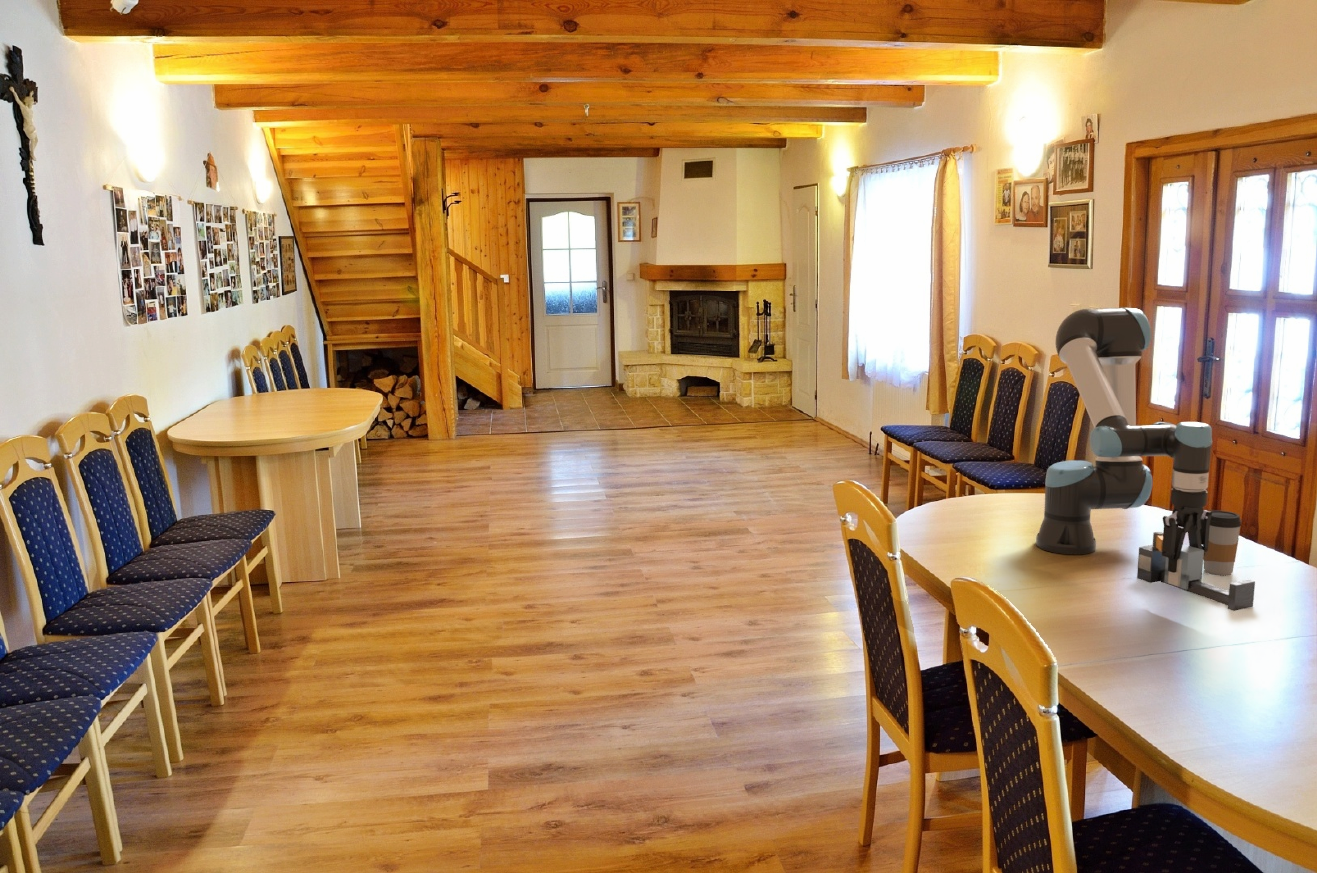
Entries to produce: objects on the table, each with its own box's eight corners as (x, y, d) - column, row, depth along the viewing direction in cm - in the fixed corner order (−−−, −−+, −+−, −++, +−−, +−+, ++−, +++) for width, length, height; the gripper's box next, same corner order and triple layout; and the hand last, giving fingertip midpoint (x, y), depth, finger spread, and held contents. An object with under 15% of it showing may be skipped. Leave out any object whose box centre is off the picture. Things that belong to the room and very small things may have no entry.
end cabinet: (1136, 578, 243) (1138, 547, 241) (1160, 573, 246) (1163, 542, 244) (1150, 583, 239) (1152, 551, 238) (1174, 578, 242) (1176, 547, 241)
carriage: (1164, 582, 237) (1166, 546, 236) (1179, 579, 239) (1182, 543, 237) (1185, 589, 232) (1188, 553, 230) (1201, 586, 234) (1204, 550, 232)
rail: (1160, 582, 240) (1161, 572, 239) (1167, 580, 241) (1168, 570, 240) (1231, 606, 222) (1232, 596, 222) (1239, 605, 223) (1240, 594, 223)
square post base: (1227, 608, 221) (1229, 583, 220) (1246, 604, 224) (1248, 579, 222) (1234, 611, 220) (1236, 585, 219) (1252, 606, 222) (1255, 581, 221)
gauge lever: (1158, 551, 236) (1159, 539, 236) (1151, 544, 242) (1152, 531, 242) (1169, 552, 236) (1170, 539, 235) (1161, 544, 242) (1162, 532, 241)
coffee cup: (1242, 578, 241) (1247, 519, 238) (1205, 577, 242) (1209, 518, 240) (1230, 567, 249) (1235, 510, 246) (1194, 566, 250) (1198, 509, 248)
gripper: (1175, 496, 224) (1168, 593, 229) (1231, 487, 231) (1223, 581, 235) (1147, 489, 231) (1141, 583, 235) (1203, 480, 238) (1196, 572, 242)
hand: (1182, 582), depth 235 cm, fingers closed on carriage, 5 cm apart
